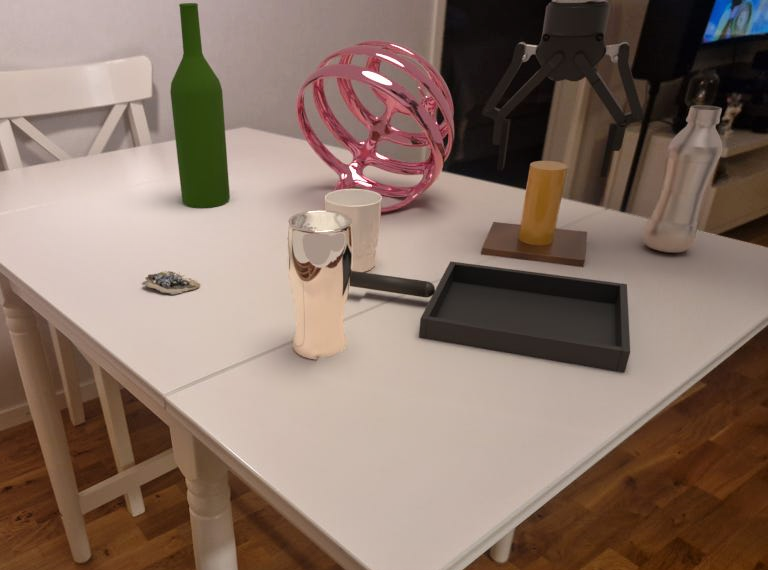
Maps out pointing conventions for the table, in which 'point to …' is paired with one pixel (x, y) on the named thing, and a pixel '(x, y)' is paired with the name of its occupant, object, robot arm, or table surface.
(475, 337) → the pan
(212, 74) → the wine bottle
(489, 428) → the table surface
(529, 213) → the canister
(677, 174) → the plastic bottle
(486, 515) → the table surface
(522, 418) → the table surface
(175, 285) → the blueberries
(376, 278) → the pan handle
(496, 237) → the board
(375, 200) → the white cup
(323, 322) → the beer glass
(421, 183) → the spiral basket
